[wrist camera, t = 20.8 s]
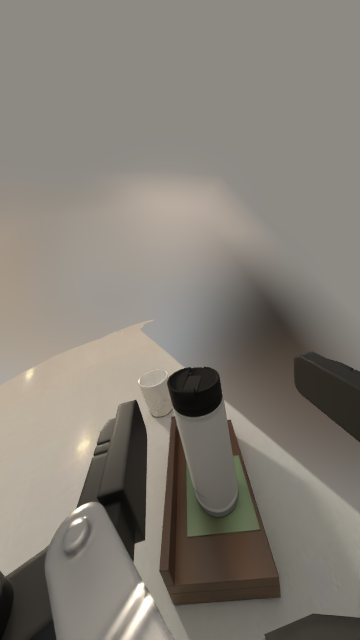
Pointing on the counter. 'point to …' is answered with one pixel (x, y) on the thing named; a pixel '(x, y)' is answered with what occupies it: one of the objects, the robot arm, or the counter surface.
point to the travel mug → (205, 437)
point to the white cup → (156, 392)
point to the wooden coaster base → (213, 539)
